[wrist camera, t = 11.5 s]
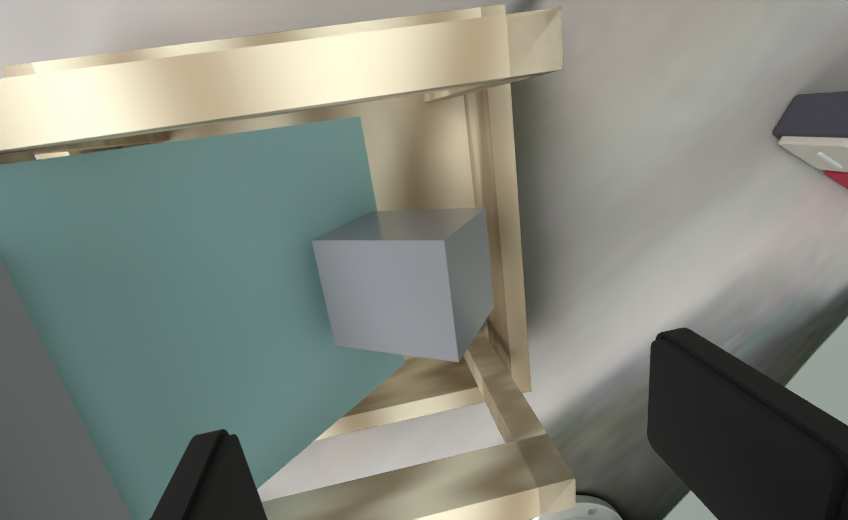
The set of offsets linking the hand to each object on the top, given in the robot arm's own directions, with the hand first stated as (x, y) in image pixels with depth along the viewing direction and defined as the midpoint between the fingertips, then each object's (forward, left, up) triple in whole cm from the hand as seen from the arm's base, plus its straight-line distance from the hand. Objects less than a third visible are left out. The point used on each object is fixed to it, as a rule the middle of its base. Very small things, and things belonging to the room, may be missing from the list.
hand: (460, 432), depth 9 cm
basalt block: (+2, 0, -12) cm, 12 cm away
